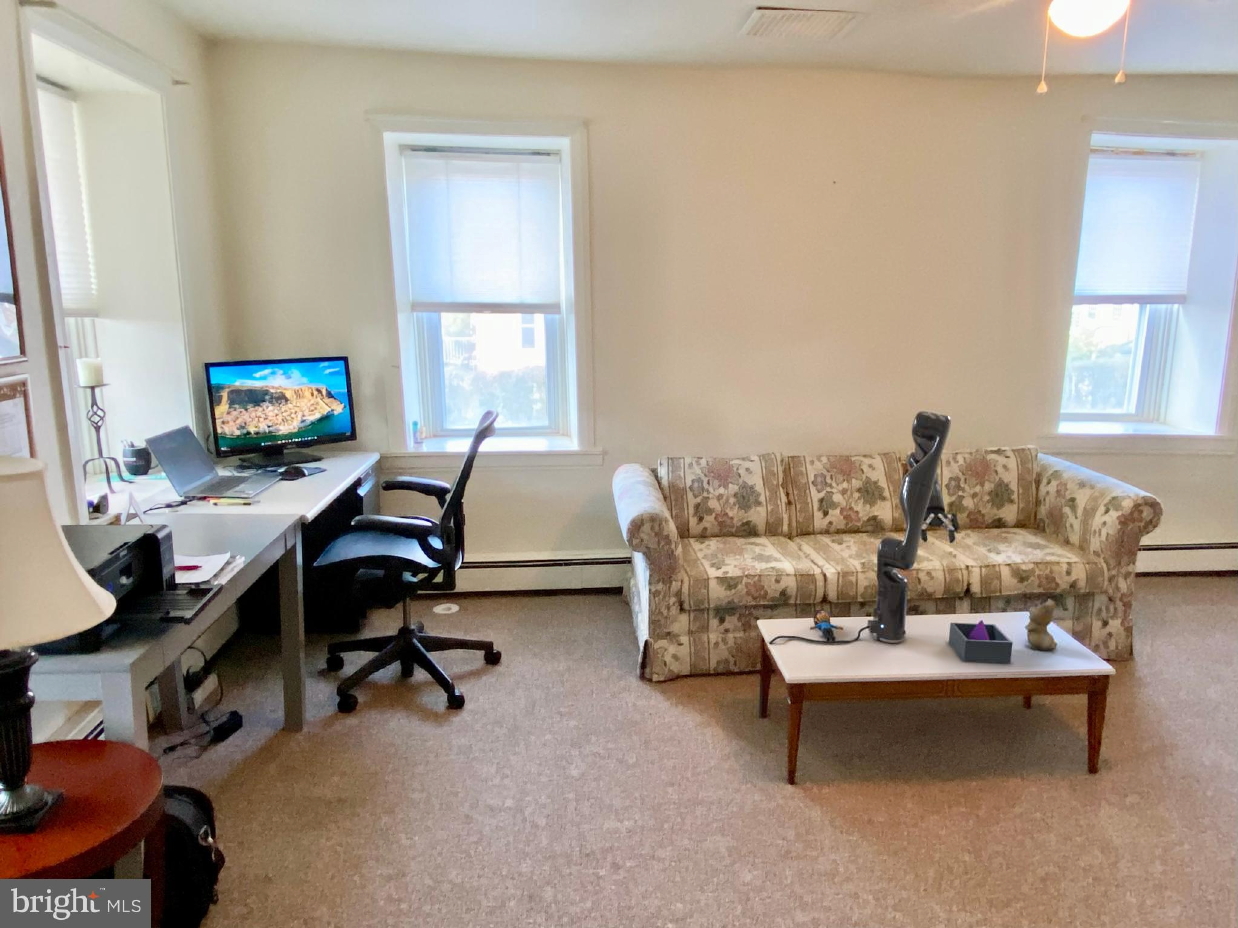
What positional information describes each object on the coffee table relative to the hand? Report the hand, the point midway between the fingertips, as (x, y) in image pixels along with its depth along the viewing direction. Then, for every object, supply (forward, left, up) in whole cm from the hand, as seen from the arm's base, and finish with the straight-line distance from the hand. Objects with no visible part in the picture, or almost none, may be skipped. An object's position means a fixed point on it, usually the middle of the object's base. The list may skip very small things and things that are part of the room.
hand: (938, 541), depth 251 cm
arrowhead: (+7, -23, -28) cm, 37 cm away
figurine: (+28, -16, -29) cm, 43 cm away
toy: (-38, -13, -29) cm, 49 cm away
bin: (+7, -23, -29) cm, 37 cm away
